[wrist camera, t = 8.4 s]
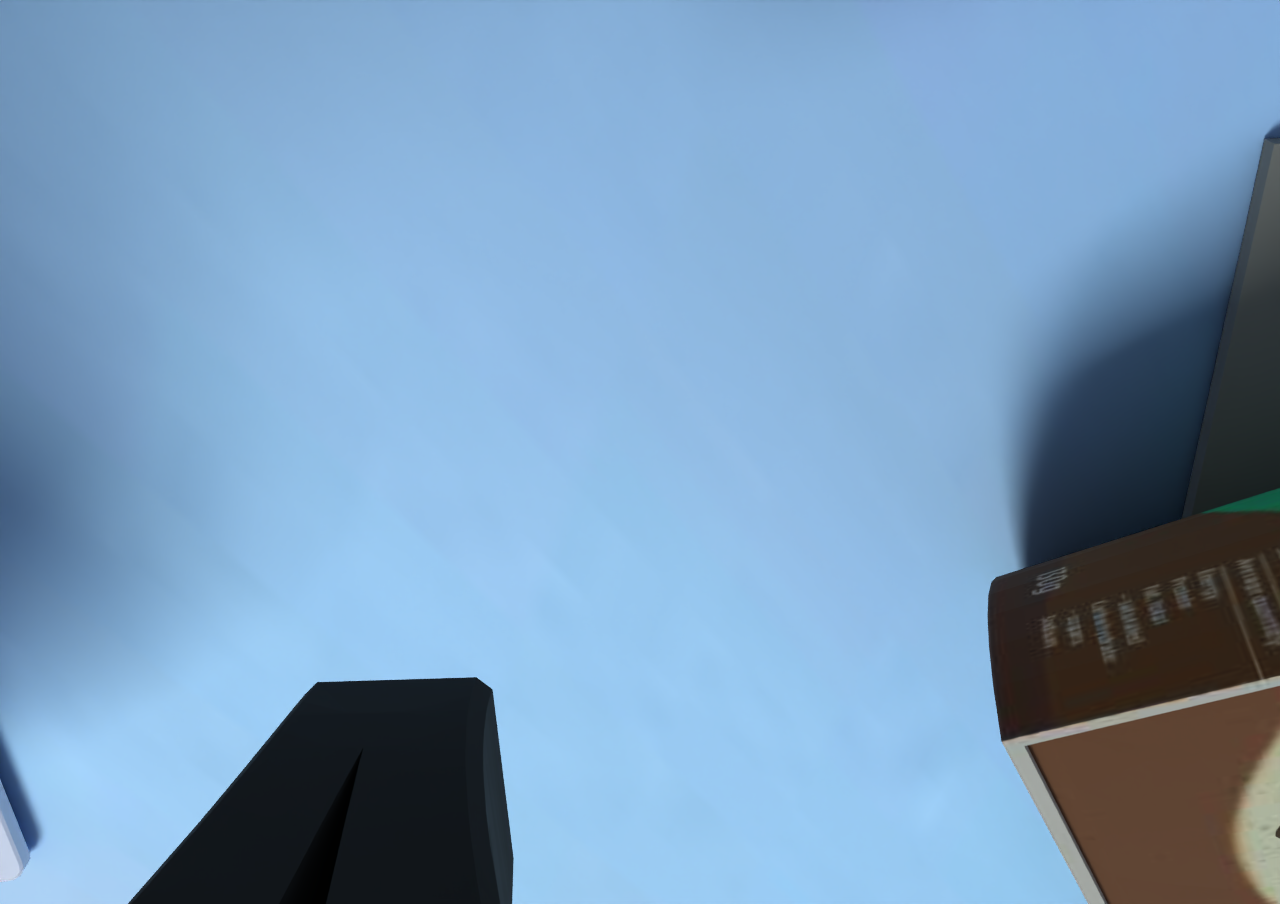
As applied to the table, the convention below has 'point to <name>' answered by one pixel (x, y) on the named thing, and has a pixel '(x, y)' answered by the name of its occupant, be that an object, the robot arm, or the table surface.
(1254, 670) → the food container
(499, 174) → the table surface
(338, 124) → the table surface
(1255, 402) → the mat
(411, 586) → the table surface
